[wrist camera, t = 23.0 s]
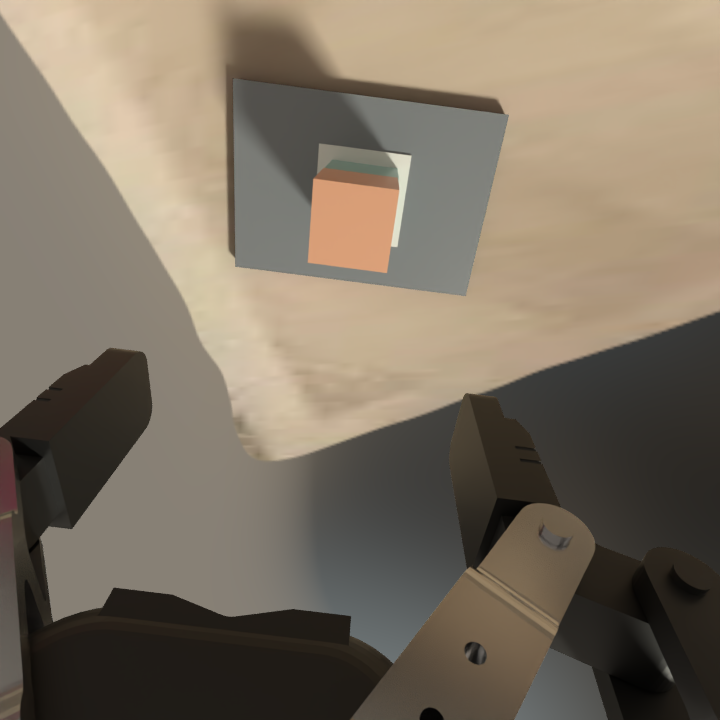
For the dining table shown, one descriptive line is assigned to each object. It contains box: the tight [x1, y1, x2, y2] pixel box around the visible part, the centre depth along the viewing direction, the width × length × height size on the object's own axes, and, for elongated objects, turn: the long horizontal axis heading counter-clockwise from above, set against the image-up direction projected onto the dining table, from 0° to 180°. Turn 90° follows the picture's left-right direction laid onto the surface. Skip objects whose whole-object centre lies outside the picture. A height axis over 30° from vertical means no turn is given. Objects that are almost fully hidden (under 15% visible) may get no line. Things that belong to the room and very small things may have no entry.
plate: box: [233, 78, 509, 296], centre depth 38 cm, size 14×20×1 cm
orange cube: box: [308, 168, 399, 273], centre depth 31 cm, size 5×5×5 cm
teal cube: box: [325, 160, 399, 180], centre depth 35 cm, size 5×5×5 cm
